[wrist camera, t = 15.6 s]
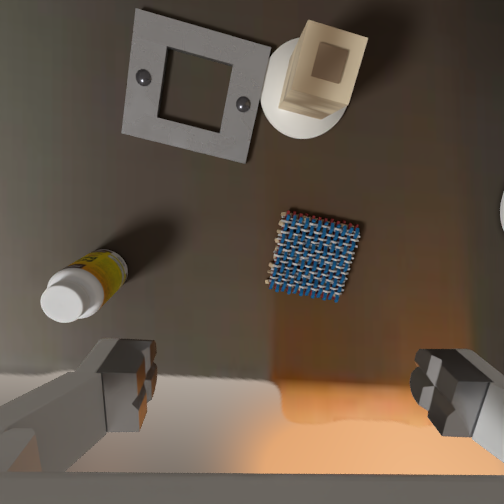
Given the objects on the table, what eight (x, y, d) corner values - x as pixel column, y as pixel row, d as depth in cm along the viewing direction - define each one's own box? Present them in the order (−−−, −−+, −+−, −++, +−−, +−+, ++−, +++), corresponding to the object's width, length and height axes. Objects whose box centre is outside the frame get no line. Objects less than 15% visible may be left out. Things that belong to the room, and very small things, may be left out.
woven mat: (360, 222, 39) (366, 226, 37) (337, 297, 42) (342, 304, 40) (281, 206, 38) (283, 208, 36) (263, 284, 41) (264, 290, 39)
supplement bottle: (113, 240, 38) (68, 267, 28) (137, 277, 39) (103, 315, 29) (75, 260, 38) (18, 293, 28) (101, 296, 40) (55, 339, 30)
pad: (355, 43, 33) (357, 40, 32) (342, 141, 35) (343, 141, 35) (262, 35, 32) (262, 32, 32) (256, 136, 35) (256, 135, 34)
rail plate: (270, 50, 32) (271, 47, 32) (245, 163, 36) (245, 163, 35) (138, 11, 31) (135, 7, 30) (124, 133, 34) (121, 133, 33)
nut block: (334, 71, 33) (369, 36, 24) (320, 119, 34) (349, 104, 25) (289, 58, 32) (308, 18, 23) (277, 108, 34) (291, 88, 25)
